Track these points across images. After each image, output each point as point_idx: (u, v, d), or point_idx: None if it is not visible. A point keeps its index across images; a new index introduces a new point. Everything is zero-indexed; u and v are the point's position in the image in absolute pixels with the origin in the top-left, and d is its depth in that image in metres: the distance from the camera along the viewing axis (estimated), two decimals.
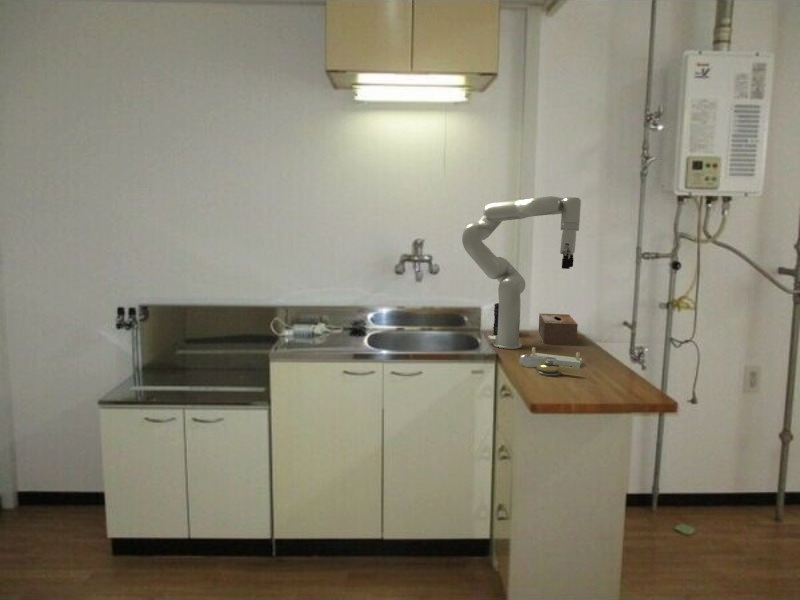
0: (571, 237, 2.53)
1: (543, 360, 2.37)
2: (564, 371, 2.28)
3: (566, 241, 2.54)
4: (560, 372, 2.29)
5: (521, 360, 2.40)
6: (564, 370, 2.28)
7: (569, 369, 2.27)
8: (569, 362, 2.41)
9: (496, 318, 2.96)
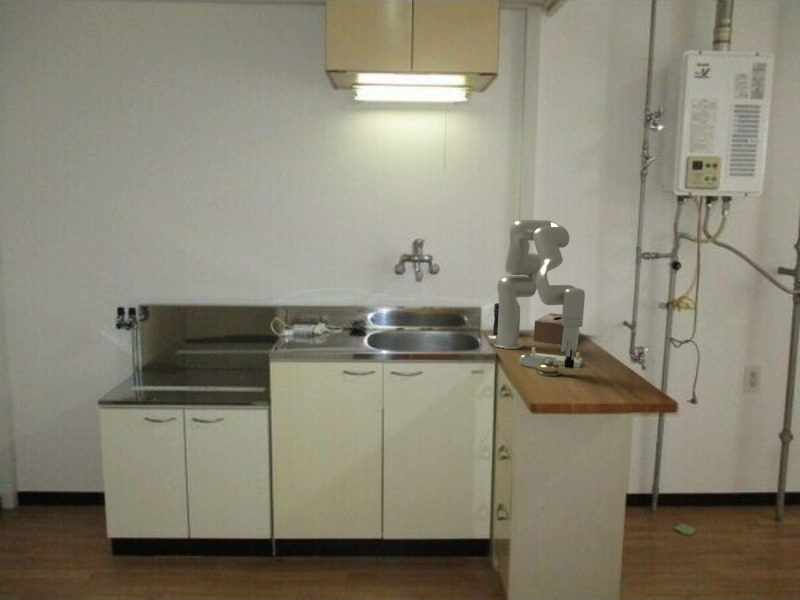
0: (574, 335, 2.23)
1: (543, 360, 2.37)
2: (563, 371, 2.27)
3: (568, 339, 2.23)
4: None
5: (521, 360, 2.40)
6: (563, 370, 2.27)
7: (568, 370, 2.26)
8: None
9: (496, 318, 2.96)
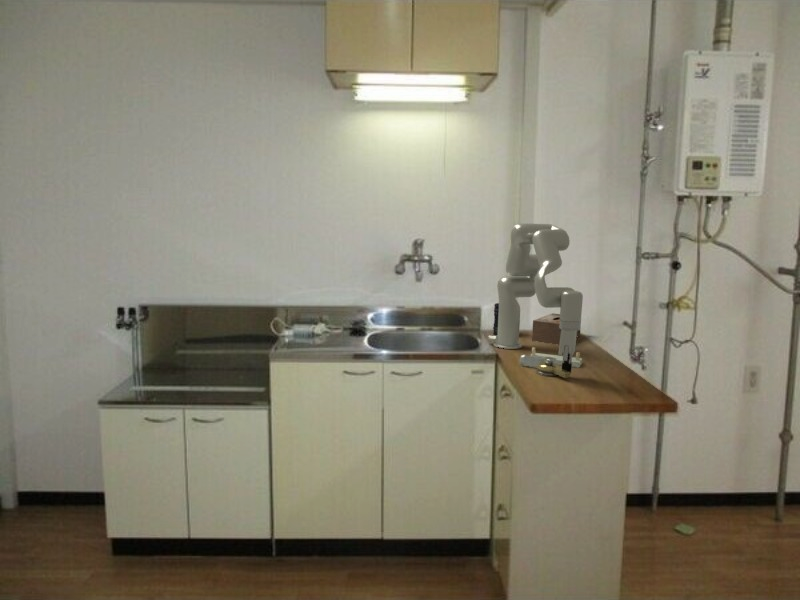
0: (571, 338, 2.19)
1: (543, 360, 2.37)
2: (556, 373, 2.25)
3: (565, 343, 2.20)
4: None
5: (521, 360, 2.40)
6: (556, 371, 2.25)
7: (559, 371, 2.23)
8: None
9: (496, 318, 2.96)
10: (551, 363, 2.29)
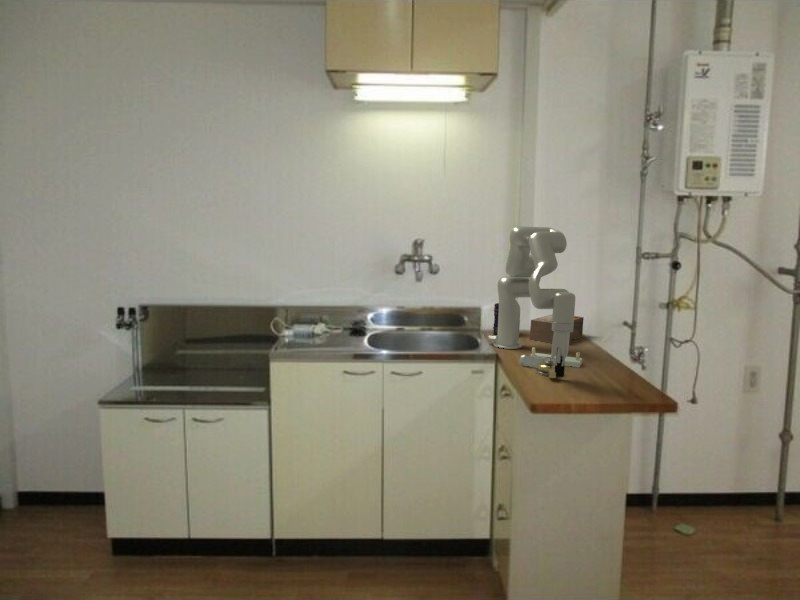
0: (564, 340, 2.16)
1: (543, 360, 2.37)
2: (547, 372, 2.25)
3: (558, 345, 2.16)
4: None
5: (521, 360, 2.40)
6: (547, 371, 2.25)
7: (548, 371, 2.23)
8: (569, 362, 2.41)
9: (496, 318, 2.96)
10: (549, 363, 2.29)
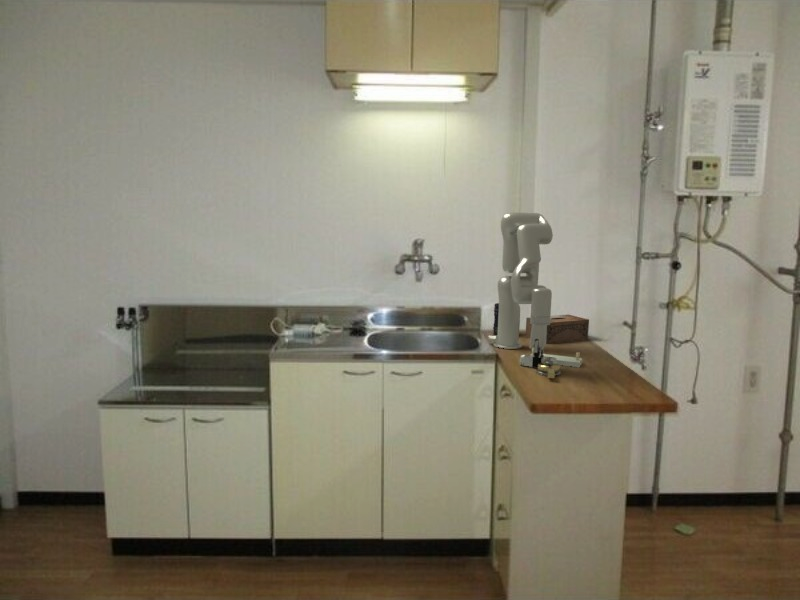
0: (541, 332, 2.33)
1: (543, 360, 2.37)
2: None
3: (536, 336, 2.34)
4: (560, 372, 2.29)
5: (521, 360, 2.40)
6: None
7: (547, 371, 2.23)
8: (569, 362, 2.41)
9: (496, 318, 2.96)
10: (549, 363, 2.29)
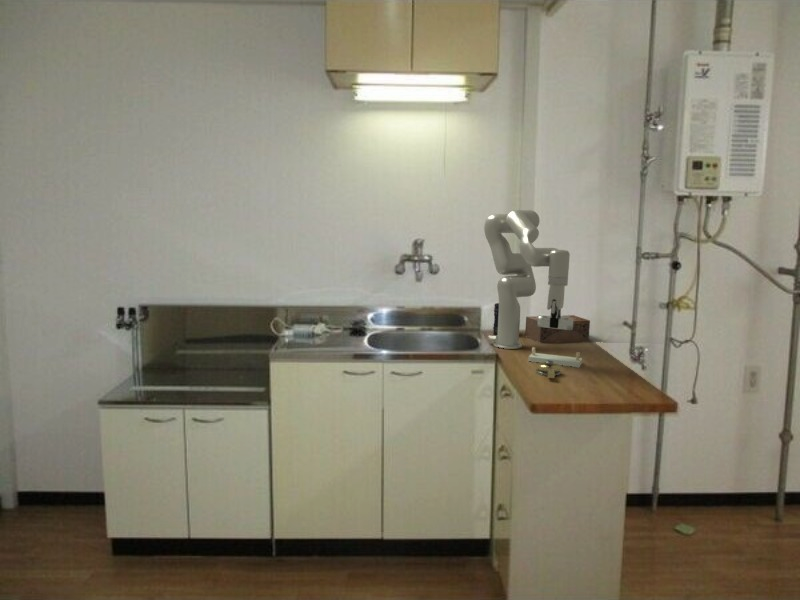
0: (558, 293, 2.38)
1: (560, 320, 2.42)
2: None
3: (553, 297, 2.39)
4: (560, 372, 2.29)
5: (539, 321, 2.45)
6: None
7: (547, 371, 2.23)
8: (569, 362, 2.41)
9: (496, 318, 2.96)
10: (549, 363, 2.29)
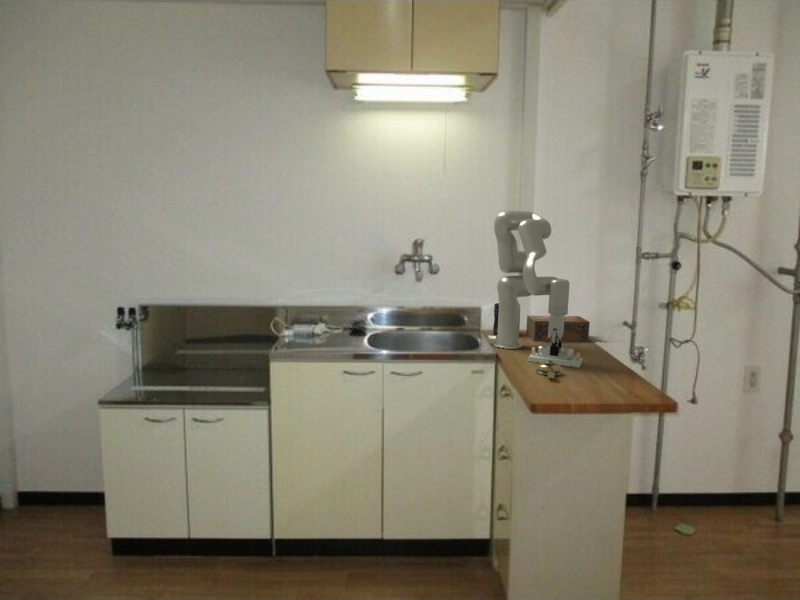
0: (559, 322, 2.40)
1: (561, 351, 2.44)
2: None
3: (554, 326, 2.41)
4: (560, 372, 2.29)
5: (539, 351, 2.48)
6: None
7: (547, 371, 2.23)
8: (569, 362, 2.41)
9: (496, 318, 2.96)
10: (549, 363, 2.29)
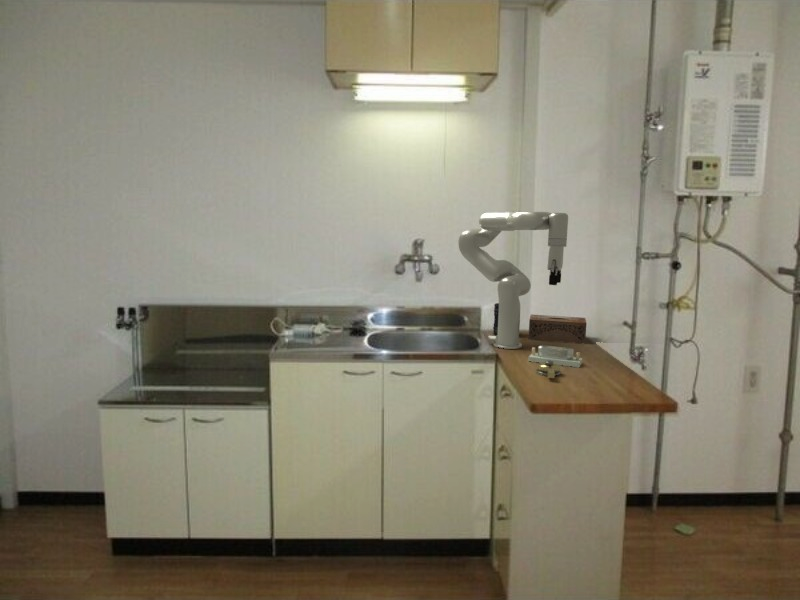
0: (558, 253, 2.50)
1: (561, 351, 2.44)
2: None
3: (553, 257, 2.51)
4: (560, 372, 2.29)
5: (539, 351, 2.48)
6: None
7: (547, 371, 2.23)
8: (569, 362, 2.41)
9: (496, 318, 2.96)
10: (549, 363, 2.29)
